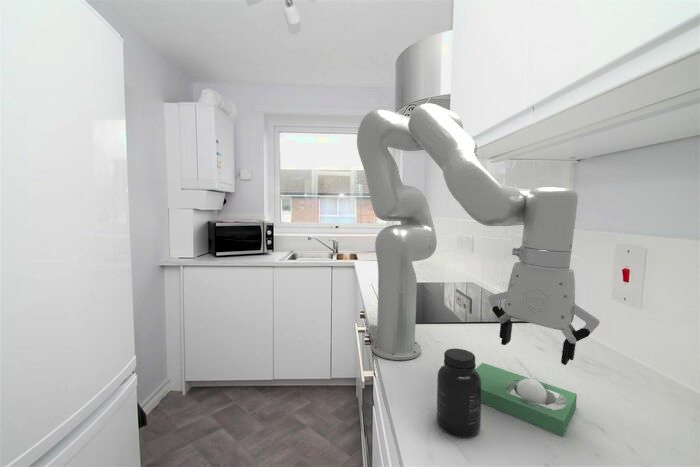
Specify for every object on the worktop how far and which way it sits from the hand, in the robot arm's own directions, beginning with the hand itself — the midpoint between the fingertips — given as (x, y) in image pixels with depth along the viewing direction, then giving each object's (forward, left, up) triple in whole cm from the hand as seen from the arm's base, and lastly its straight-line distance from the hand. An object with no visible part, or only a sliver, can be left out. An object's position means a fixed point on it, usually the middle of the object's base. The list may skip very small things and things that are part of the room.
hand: (533, 351), depth 59 cm
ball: (0, 0, -8) cm, 8 cm away
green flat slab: (-3, 0, -10) cm, 11 cm away
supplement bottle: (-7, -15, -10) cm, 19 cm away
